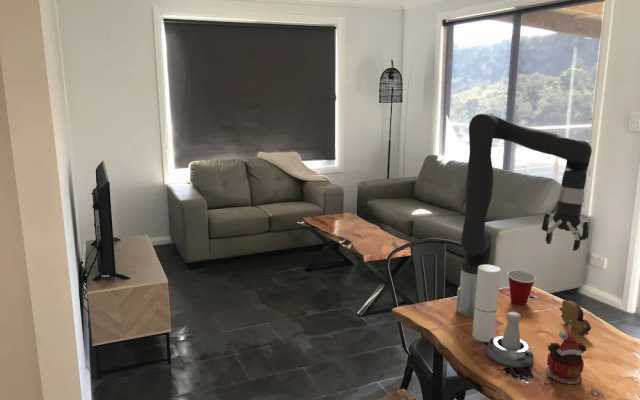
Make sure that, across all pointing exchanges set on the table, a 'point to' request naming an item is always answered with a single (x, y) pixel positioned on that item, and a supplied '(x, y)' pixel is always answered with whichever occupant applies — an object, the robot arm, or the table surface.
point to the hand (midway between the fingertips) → (561, 246)
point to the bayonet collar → (509, 354)
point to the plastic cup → (520, 286)
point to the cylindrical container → (486, 302)
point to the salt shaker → (512, 332)
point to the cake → (566, 358)
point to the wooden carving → (574, 317)
